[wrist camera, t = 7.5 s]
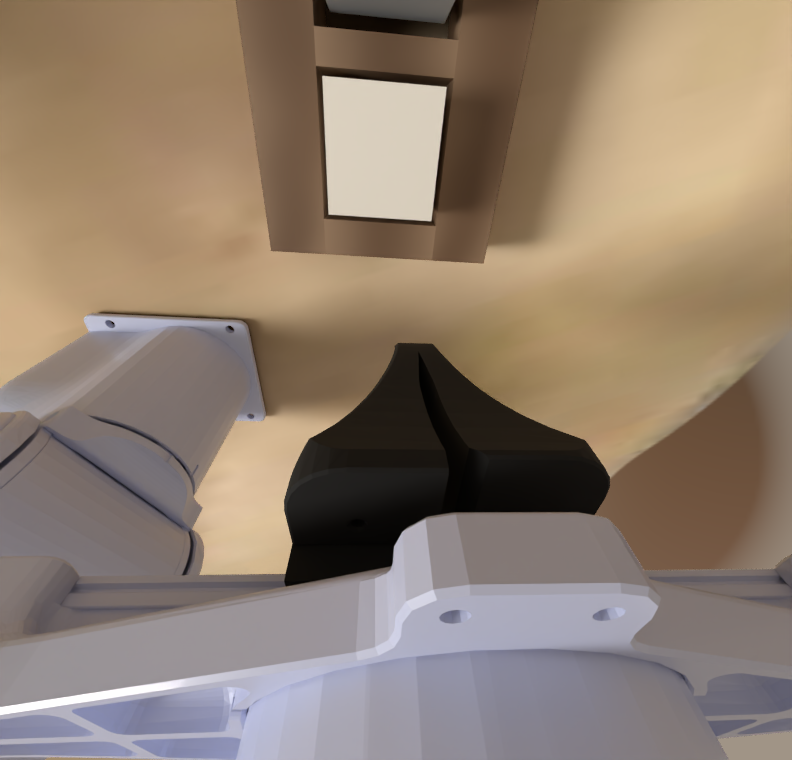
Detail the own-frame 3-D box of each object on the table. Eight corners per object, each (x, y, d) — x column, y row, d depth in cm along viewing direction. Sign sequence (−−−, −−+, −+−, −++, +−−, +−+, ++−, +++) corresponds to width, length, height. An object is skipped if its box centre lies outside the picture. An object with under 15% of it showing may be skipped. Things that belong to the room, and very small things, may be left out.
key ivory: (339, 202, 16) (328, 214, 13) (335, 91, 14) (322, 75, 11) (423, 207, 16) (431, 221, 13) (433, 100, 14) (446, 86, 11)
